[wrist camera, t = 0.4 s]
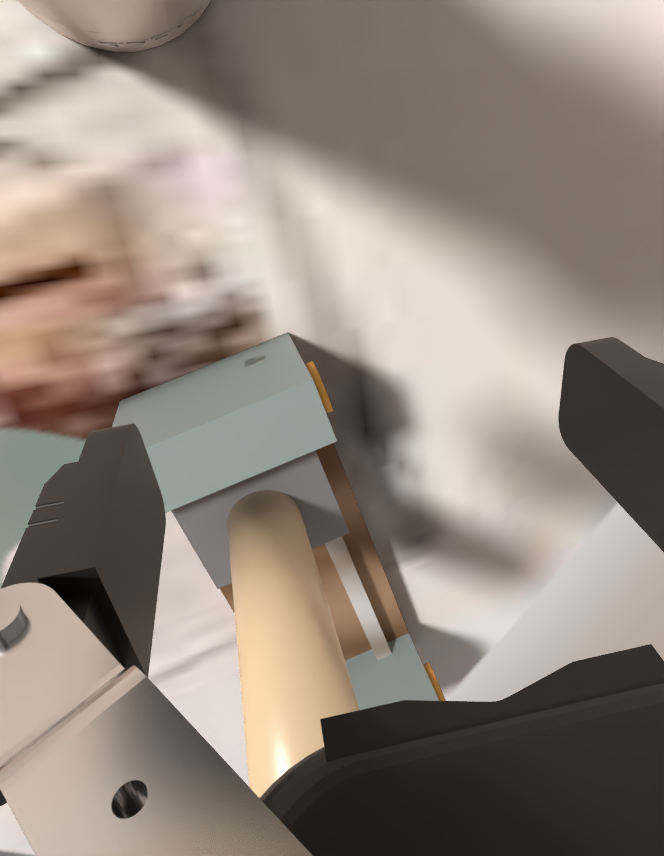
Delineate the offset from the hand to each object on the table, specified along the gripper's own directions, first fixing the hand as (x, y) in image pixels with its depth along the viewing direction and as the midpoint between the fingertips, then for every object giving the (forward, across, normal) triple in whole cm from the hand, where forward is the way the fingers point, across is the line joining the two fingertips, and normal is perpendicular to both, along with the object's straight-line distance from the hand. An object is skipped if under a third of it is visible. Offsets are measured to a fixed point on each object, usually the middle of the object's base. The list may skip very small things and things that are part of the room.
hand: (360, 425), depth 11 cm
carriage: (+15, +3, +12) cm, 20 cm away
